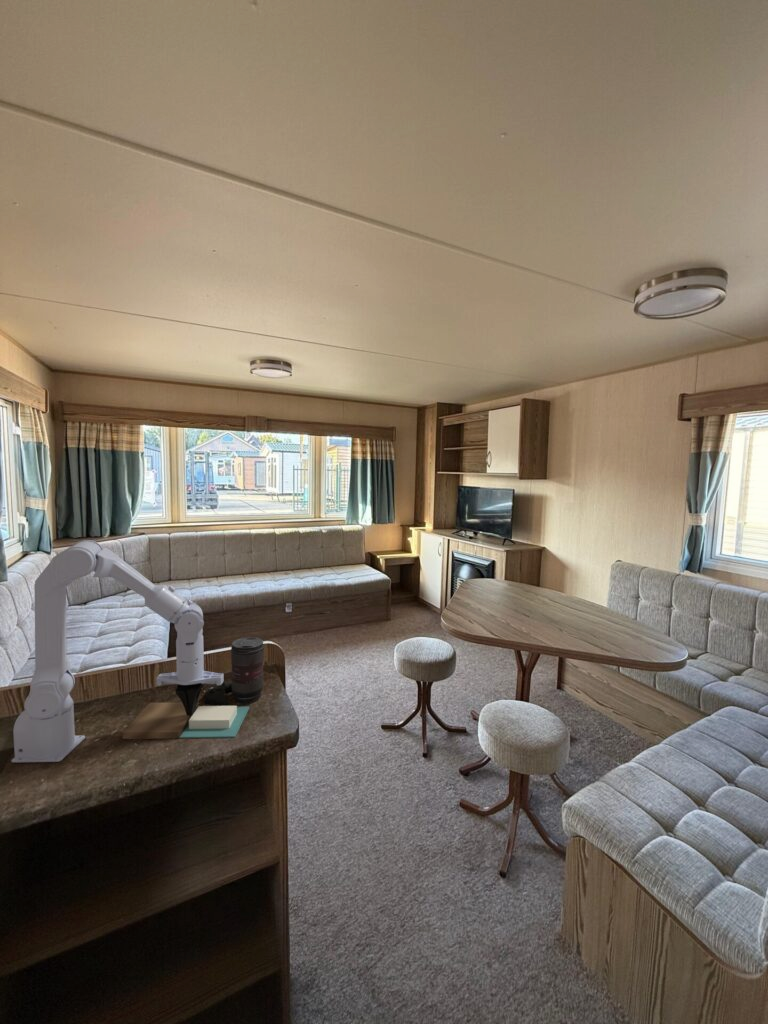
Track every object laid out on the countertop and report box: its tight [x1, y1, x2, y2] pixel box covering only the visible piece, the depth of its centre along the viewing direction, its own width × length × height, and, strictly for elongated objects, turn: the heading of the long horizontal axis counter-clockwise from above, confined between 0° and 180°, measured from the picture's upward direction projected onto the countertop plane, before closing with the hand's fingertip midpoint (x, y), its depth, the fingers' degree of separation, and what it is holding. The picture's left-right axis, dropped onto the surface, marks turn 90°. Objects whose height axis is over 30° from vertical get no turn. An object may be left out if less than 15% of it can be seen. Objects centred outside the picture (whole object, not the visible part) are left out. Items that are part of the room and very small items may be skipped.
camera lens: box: [230, 636, 265, 705], centre depth 109 cm, size 8×8×15 cm
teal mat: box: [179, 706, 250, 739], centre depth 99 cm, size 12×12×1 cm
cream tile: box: [189, 705, 238, 729], centre depth 99 cm, size 9×6×2 cm, turn 93°
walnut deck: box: [121, 701, 201, 740], centre depth 98 cm, size 12×12×2 cm
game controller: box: [203, 681, 232, 706], centre depth 110 cm, size 10×5×6 cm
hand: (191, 713), depth 98 cm, fingers closed
